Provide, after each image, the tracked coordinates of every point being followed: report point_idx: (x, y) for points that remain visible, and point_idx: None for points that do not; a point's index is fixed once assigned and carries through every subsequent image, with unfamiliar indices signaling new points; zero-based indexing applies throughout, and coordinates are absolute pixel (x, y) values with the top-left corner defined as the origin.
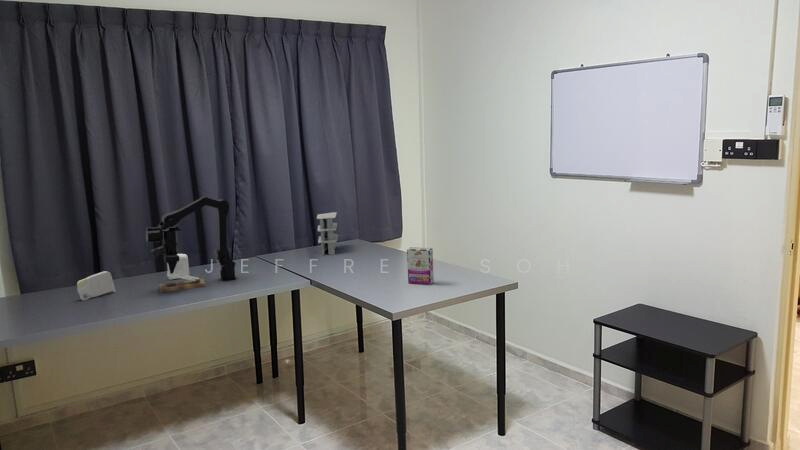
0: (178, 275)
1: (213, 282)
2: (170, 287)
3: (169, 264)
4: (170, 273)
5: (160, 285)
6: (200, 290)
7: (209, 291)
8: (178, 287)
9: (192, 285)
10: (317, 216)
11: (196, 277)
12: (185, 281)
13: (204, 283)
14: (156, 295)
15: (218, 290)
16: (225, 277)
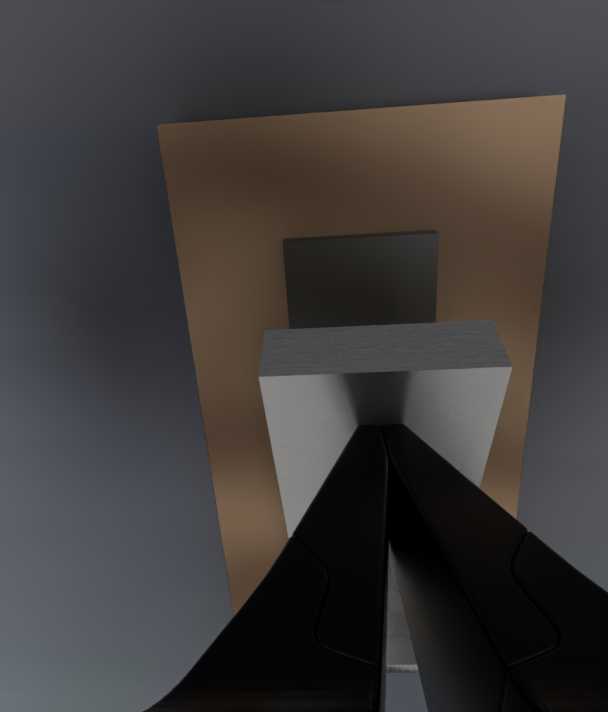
0: (289, 526)
1: None
2: (219, 296)
3: (235, 661)
4: (319, 421)
5: (464, 122)
6: (88, 587)
7: (15, 648)
8: (202, 401)
9: (225, 555)
10: None
11: (400, 661)
12: None
13: None
14: (12, 60)
15: (28, 706)
16: None
